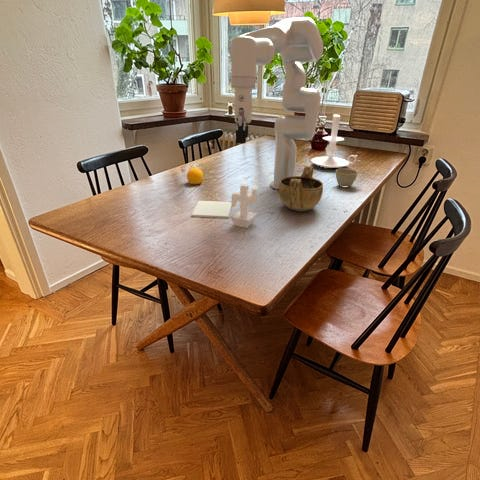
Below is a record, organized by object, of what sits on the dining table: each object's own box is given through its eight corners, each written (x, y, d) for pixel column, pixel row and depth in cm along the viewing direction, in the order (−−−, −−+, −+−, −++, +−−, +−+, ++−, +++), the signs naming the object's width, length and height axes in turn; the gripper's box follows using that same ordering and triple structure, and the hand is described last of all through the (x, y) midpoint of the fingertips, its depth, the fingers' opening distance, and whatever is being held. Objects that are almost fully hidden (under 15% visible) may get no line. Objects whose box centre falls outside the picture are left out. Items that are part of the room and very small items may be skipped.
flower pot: (356, 184, 157) (359, 169, 153) (353, 190, 149) (356, 175, 146) (335, 181, 161) (337, 167, 157) (331, 187, 153) (333, 172, 149)
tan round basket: (312, 223, 119) (317, 183, 112) (269, 214, 125) (271, 176, 118) (325, 202, 137) (330, 167, 130) (286, 195, 143) (289, 161, 136)
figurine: (236, 218, 122) (236, 179, 115) (259, 223, 118) (261, 183, 111) (227, 225, 116) (227, 185, 109) (251, 231, 113) (252, 190, 105)
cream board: (232, 203, 134) (232, 201, 134) (228, 218, 122) (228, 216, 122) (198, 202, 135) (198, 200, 135) (191, 216, 123) (191, 214, 123)
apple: (201, 186, 152) (200, 171, 149) (185, 185, 154) (183, 169, 150) (205, 181, 159) (205, 166, 156) (190, 180, 161) (189, 165, 157)
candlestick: (348, 176, 168) (358, 119, 155) (304, 168, 181) (310, 114, 167) (360, 167, 183) (370, 114, 170) (319, 160, 195) (325, 110, 182)
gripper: (253, 84, 93) (251, 145, 101) (256, 82, 108) (254, 136, 116) (227, 84, 93) (227, 145, 101) (234, 82, 109) (233, 135, 117)
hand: (241, 140), depth 109 cm, fingers open, 9 cm apart
